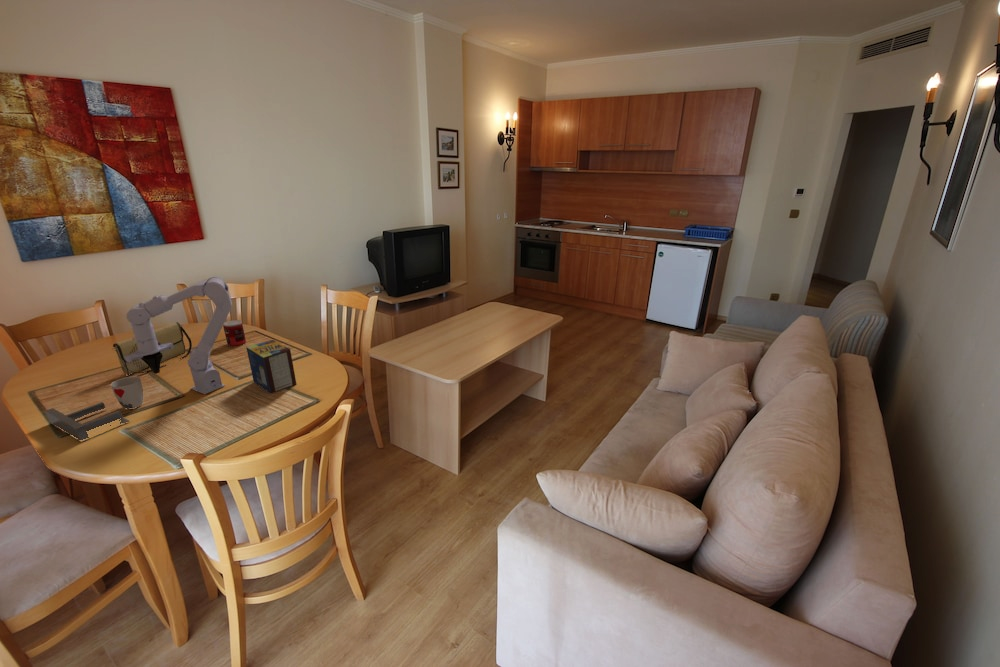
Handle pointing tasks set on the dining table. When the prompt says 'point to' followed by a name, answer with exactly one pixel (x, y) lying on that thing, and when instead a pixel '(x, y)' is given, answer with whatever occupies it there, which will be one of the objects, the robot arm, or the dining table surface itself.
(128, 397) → the cup
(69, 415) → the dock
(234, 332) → the canned food
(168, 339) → the clutch purse
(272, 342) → the protein box
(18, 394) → the dining table surface
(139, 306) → the robot arm
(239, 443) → the dining table surface
